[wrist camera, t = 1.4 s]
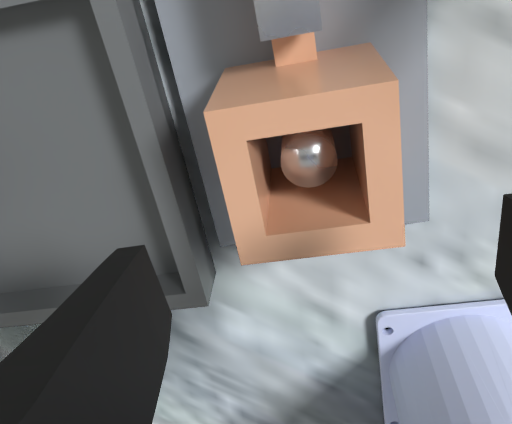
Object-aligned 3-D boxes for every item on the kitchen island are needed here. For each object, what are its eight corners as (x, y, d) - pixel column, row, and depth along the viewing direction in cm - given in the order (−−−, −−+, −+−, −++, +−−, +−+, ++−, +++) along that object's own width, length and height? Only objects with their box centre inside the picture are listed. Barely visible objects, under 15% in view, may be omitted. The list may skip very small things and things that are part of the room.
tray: (215, 272, 23) (208, 306, 21) (-5, 297, 25) (-32, 330, 22) (125, -47, 16) (101, -45, 14) (-167, 17, 18) (-226, 28, 16)
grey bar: (332, 143, 19) (340, 183, 16) (286, 149, 19) (285, 191, 16) (302, -118, 15) (304, -132, 11) (243, -105, 15) (231, -115, 12)
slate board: (426, 213, 21) (429, 221, 20) (221, 239, 22) (220, 246, 21) (419, -203, 14) (424, -208, 13) (124, -130, 15) (118, -132, 15)
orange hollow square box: (379, 176, 19) (405, 246, 15) (251, 193, 20) (241, 265, 16) (363, -70, 15) (392, -71, 11) (202, -36, 16) (169, -25, 11)
